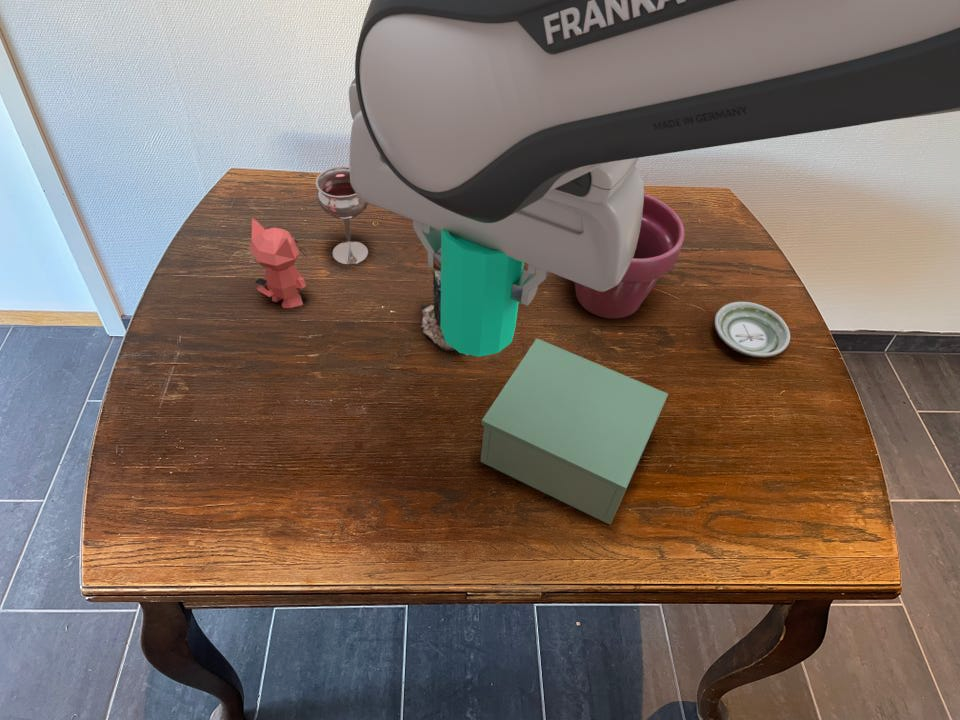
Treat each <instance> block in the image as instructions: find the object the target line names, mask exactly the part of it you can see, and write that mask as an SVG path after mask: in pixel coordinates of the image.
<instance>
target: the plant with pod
mask: <svg viewBox="0 0 960 720" xmlns="http://www.w3.org/2000/svg"><path fill="white" fill-rule="evenodd" d="M432 274H433V276H432V277H433V278H432V279H433V281H432V284H433V285H432V286H433V287H432V288H433V289H432V295H433V301H432V302H431V301H430V302H429V303H427V302H426V303H424V304H422V306H421V307H420V308H421V314H422V322H421V324H422V325H421V326H420V327H421V328H423V329H422V334H424V335H426V336H427V337H429V339H431V340H432V341H433V343H434V344H436V345H438V347H439V348H440V349H441V350H444V351H447V352H453V351H456V350H455V349H454V348H453V347H451V346H450V345H449V344H447V343H446V342H445V339H444V336H443V334H442V331H441V328H440V325H441V271H439V270H437V269H435V268H433V271H432ZM464 356H465V357H468V356H469V355H468V354H464Z"/></svg>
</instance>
